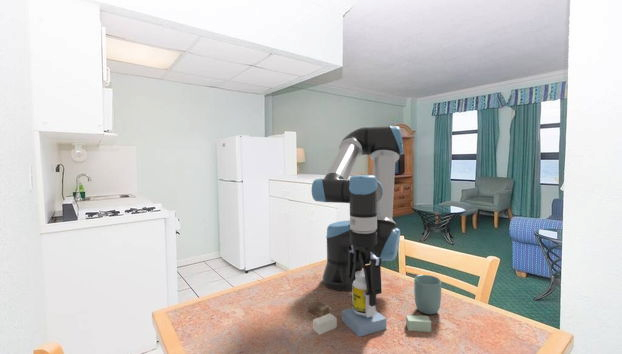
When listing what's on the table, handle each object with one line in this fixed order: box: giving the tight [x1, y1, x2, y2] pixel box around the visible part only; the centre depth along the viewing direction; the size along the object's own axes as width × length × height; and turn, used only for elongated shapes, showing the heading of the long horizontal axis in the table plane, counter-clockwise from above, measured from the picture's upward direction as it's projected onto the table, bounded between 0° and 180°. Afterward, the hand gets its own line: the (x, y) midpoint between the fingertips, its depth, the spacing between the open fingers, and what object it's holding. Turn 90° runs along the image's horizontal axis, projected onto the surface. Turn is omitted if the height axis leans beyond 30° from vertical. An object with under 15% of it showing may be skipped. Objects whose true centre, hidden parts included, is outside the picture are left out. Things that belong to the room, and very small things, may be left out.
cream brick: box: [312, 313, 338, 336], centre depth 84 cm, size 6×3×3 cm, turn 124°
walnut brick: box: [307, 299, 330, 318], centre depth 92 cm, size 6×3×3 cm, turn 45°
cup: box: [413, 274, 442, 315], centre depth 92 cm, size 8×8×10 cm
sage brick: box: [405, 314, 432, 333], centre depth 84 cm, size 6×3×3 cm, turn 84°
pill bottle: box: [352, 269, 367, 316], centre depth 85 cm, size 6×6×11 cm
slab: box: [341, 307, 387, 338], centre depth 86 cm, size 9×9×3 cm
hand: (363, 309), depth 86 cm, fingers closed on pill bottle, 6 cm apart
